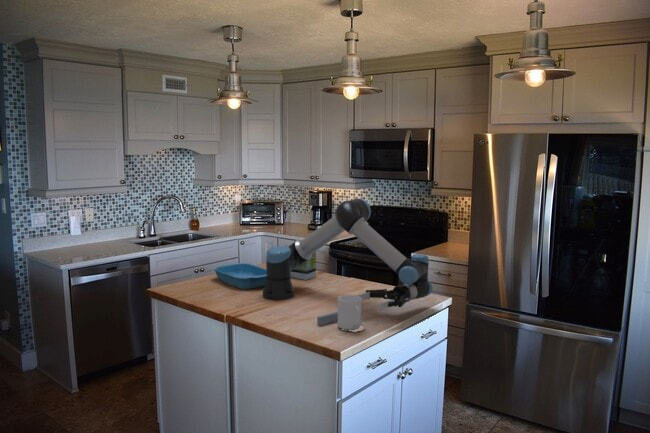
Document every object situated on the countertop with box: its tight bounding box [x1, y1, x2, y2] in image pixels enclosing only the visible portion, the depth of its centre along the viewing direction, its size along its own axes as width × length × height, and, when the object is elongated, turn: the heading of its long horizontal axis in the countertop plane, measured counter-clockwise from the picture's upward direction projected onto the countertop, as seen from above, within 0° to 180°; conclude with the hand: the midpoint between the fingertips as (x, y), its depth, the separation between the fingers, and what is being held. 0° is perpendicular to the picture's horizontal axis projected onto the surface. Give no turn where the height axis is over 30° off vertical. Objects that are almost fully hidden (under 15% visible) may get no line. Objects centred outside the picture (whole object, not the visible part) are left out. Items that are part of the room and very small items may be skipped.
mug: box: [337, 294, 363, 330], centre depth 207 cm, size 10×12×12 cm
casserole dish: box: [214, 262, 266, 290], centre depth 275 cm, size 37×22×7 cm, turn 40°
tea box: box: [291, 251, 317, 281], centre depth 287 cm, size 15×10×15 cm, turn 58°
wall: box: [316, 311, 338, 327], centre depth 216 cm, size 18×2×4 cm, turn 130°
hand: (369, 301), depth 212 cm, fingers open, 13 cm apart
